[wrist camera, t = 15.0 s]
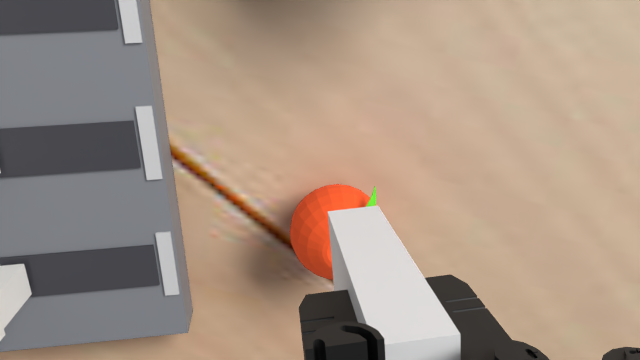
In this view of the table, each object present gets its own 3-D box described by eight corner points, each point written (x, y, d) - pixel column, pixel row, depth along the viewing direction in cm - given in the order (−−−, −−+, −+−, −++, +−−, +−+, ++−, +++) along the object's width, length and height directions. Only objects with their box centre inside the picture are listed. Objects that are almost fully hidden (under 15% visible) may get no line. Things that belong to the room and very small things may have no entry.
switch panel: (193, 310, 42) (187, 334, 39) (13, 328, 40) (-6, 354, 37) (135, -100, 32) (122, -112, 29) (-103, -95, 31) (-142, -107, 28)
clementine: (324, 144, 38) (338, 172, 32) (398, 187, 40) (425, 223, 34) (270, 228, 40) (273, 272, 33) (343, 266, 42) (359, 315, 35)
